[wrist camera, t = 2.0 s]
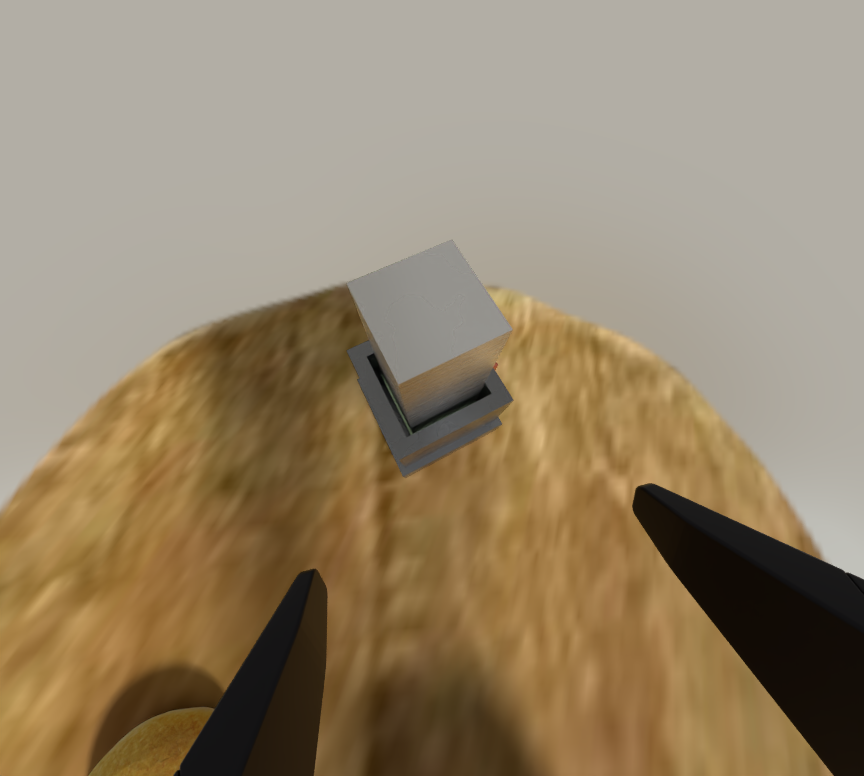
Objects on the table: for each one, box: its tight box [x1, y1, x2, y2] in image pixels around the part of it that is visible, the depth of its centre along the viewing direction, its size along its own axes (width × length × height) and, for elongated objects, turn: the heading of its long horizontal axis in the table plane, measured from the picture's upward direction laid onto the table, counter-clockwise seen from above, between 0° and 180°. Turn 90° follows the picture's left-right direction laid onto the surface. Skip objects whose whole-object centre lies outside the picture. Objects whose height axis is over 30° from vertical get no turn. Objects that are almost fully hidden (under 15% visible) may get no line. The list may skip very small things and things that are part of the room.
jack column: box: [346, 240, 513, 435], centre depth 15 cm, size 4×4×11 cm
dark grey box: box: [347, 341, 513, 478], centre depth 19 cm, size 7×7×7 cm
